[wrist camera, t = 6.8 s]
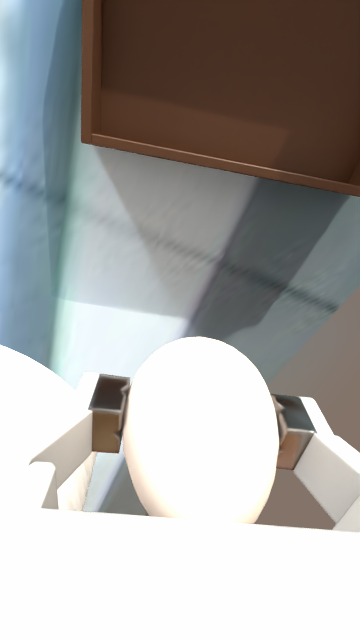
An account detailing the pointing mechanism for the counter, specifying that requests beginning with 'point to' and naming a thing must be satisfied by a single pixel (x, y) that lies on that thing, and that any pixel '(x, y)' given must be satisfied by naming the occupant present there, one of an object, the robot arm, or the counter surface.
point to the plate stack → (38, 414)
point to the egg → (200, 433)
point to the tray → (228, 85)
